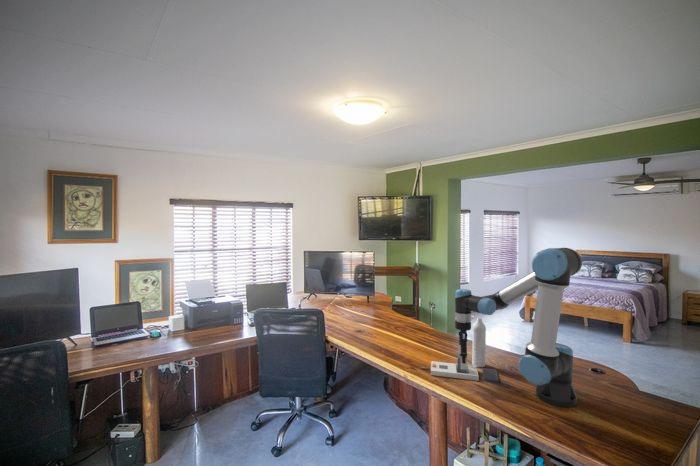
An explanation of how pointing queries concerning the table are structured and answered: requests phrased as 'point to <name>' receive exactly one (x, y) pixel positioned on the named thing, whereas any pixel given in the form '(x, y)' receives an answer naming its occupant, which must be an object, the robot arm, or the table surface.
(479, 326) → the water bottle
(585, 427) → the table surface
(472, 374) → the power strip
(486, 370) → the phone
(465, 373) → the charger
